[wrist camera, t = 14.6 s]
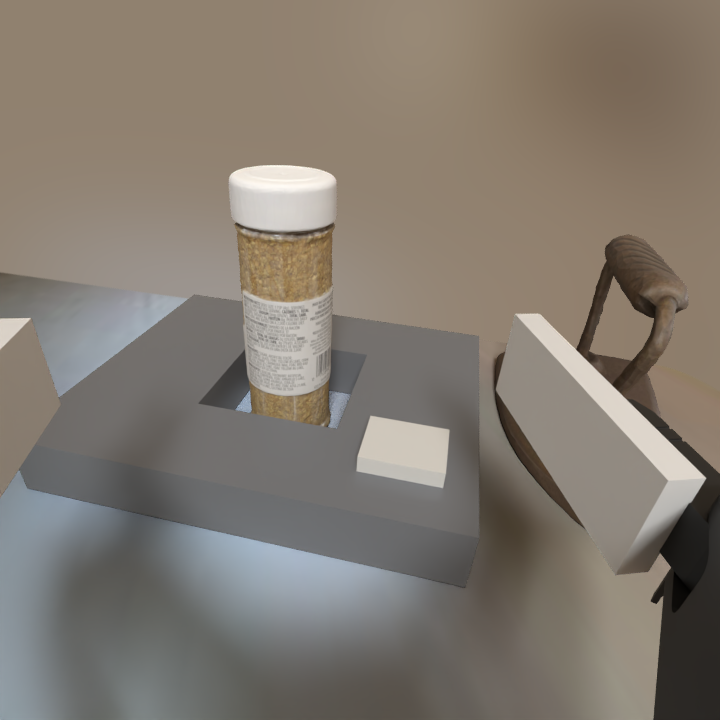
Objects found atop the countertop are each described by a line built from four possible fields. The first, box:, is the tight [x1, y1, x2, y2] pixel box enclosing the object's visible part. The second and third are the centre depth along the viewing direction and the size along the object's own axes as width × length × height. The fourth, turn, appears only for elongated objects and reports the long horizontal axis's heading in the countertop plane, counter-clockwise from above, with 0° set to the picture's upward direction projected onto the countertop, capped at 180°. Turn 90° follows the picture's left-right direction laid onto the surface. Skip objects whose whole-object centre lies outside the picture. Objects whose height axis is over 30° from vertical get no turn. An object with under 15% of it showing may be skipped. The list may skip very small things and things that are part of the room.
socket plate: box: [19, 295, 479, 587], centre depth 26 cm, size 20×16×4 cm
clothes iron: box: [495, 235, 688, 528], centre depth 24 cm, size 14×10×11 cm
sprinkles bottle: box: [229, 165, 337, 427], centre depth 23 cm, size 5×5×13 cm
